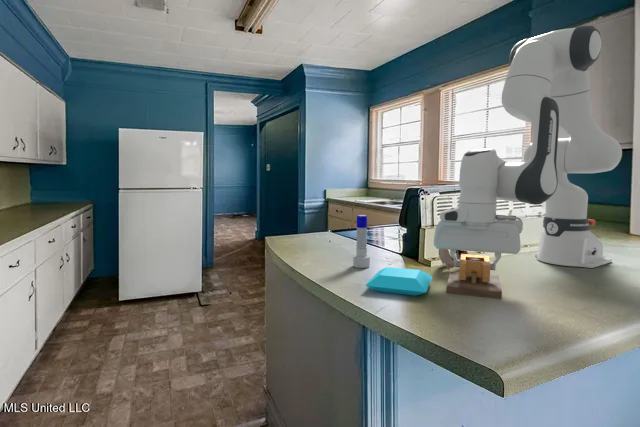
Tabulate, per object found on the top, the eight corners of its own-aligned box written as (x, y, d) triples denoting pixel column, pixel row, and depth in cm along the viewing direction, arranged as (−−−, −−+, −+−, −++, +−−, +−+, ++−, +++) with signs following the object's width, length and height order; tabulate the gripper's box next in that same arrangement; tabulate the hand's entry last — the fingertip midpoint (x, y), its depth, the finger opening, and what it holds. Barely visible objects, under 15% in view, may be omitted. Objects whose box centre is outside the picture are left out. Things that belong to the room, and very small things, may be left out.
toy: (476, 270, 110) (461, 220, 110) (446, 278, 112) (431, 228, 111) (471, 263, 119) (457, 216, 118) (443, 270, 121) (429, 224, 120)
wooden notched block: (460, 268, 105) (461, 253, 105) (488, 270, 103) (488, 255, 102) (458, 279, 94) (459, 263, 94) (489, 282, 92) (490, 265, 91)
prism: (378, 280, 105) (378, 264, 105) (432, 285, 100) (432, 268, 100) (364, 294, 92) (365, 275, 92) (426, 300, 87) (426, 280, 87)
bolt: (372, 267, 117) (358, 269, 115) (364, 264, 122) (350, 265, 119) (373, 215, 115) (358, 216, 113) (364, 214, 120) (350, 215, 118)
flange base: (450, 276, 107) (451, 253, 106) (498, 281, 102) (499, 257, 101) (446, 292, 93) (447, 265, 92) (501, 298, 88) (503, 270, 88)
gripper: (521, 214, 96) (518, 269, 98) (436, 211, 104) (434, 262, 105) (524, 217, 90) (521, 275, 92) (433, 213, 98) (432, 267, 99)
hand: (474, 268), depth 99 cm, fingers closed on wooden notched block, 7 cm apart
